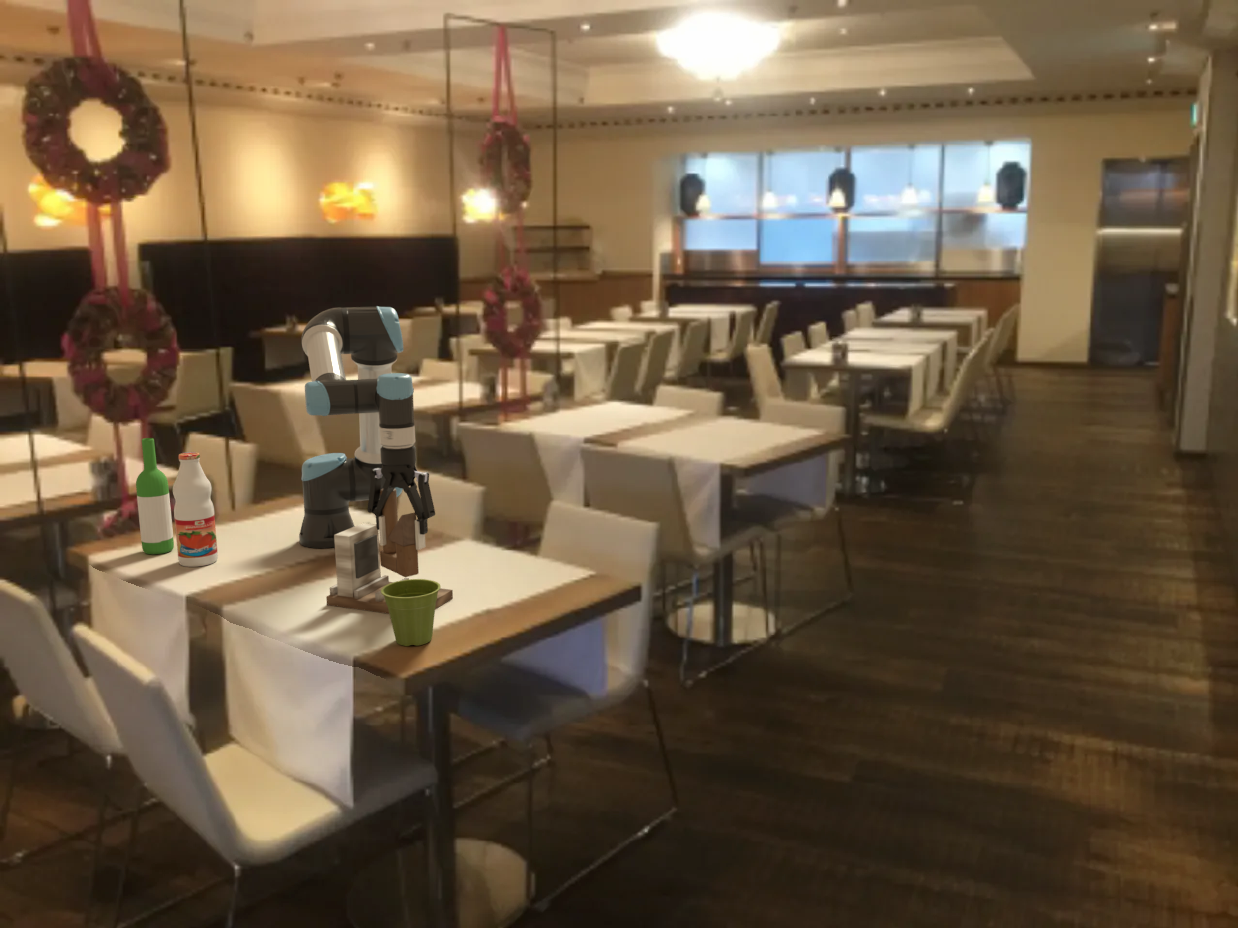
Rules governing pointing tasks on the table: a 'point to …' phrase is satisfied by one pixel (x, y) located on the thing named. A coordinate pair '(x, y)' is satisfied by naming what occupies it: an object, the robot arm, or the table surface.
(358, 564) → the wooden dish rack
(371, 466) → the robot arm
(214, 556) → the fruit juice
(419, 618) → the plant pot
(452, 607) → the table surface
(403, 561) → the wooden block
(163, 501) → the wine bottle
